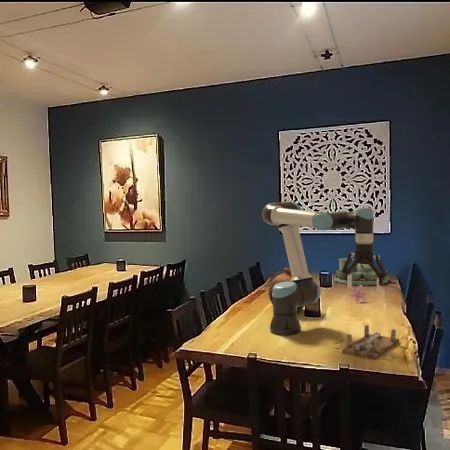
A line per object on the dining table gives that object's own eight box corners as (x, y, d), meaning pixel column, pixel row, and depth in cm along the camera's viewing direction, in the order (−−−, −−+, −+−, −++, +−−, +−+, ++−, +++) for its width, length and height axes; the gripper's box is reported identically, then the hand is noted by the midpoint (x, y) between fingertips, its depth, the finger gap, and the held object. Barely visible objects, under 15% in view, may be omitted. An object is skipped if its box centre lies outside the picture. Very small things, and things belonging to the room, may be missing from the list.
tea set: (332, 285, 340) (332, 263, 340) (336, 277, 378) (336, 257, 378) (389, 287, 328) (389, 264, 328) (387, 278, 366) (387, 257, 366)
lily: (345, 304, 282) (351, 292, 277) (346, 293, 292) (351, 281, 288) (365, 310, 281) (370, 298, 276) (364, 299, 291) (370, 287, 286)
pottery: (262, 310, 270) (261, 267, 269) (294, 305, 281) (293, 264, 279) (284, 318, 250) (283, 272, 249) (318, 312, 260) (317, 268, 259)
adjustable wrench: (375, 335, 210) (375, 331, 210) (389, 337, 206) (389, 333, 206) (353, 349, 190) (353, 345, 190) (368, 352, 186) (368, 348, 186)
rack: (342, 352, 191) (342, 337, 191) (368, 337, 212) (368, 323, 212) (375, 359, 182) (375, 343, 182) (399, 342, 203) (399, 327, 203)
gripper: (334, 241, 207) (334, 288, 209) (388, 245, 191) (388, 296, 192) (341, 240, 213) (341, 285, 214) (395, 243, 197) (395, 292, 198)
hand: (363, 290), depth 203 cm, fingers open, 13 cm apart
